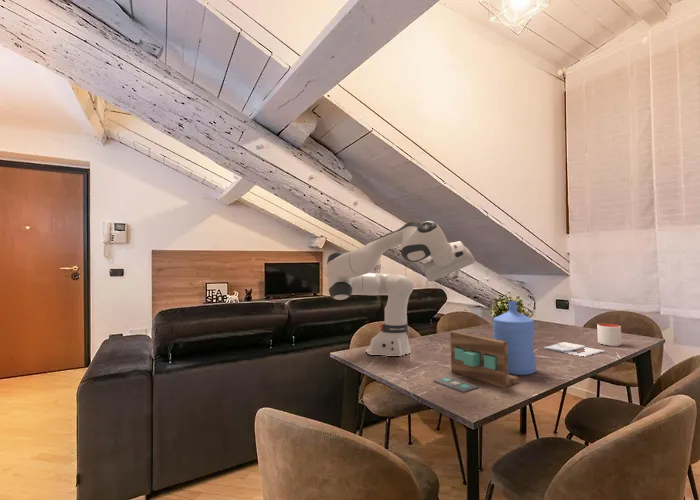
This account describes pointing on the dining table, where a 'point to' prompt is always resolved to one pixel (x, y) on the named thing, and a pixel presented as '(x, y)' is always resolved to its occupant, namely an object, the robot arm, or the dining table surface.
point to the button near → (490, 361)
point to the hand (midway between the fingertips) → (455, 277)
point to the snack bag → (567, 347)
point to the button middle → (472, 358)
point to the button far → (459, 353)
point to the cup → (609, 334)
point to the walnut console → (482, 358)
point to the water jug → (516, 340)
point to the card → (456, 384)
